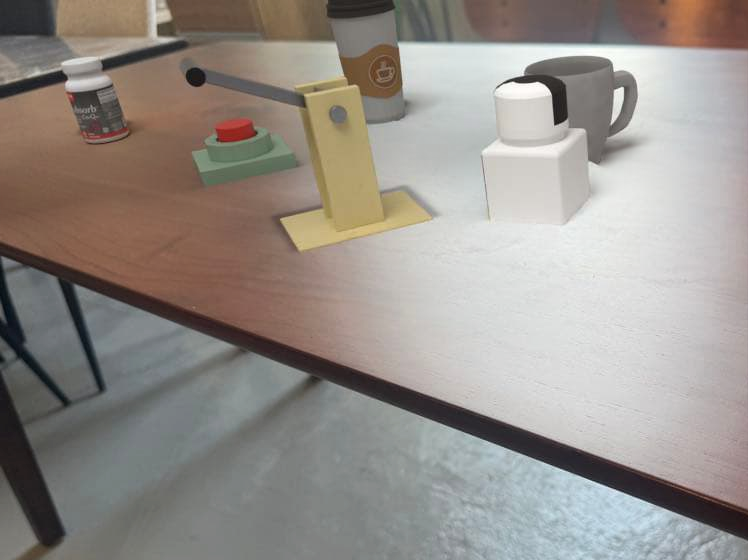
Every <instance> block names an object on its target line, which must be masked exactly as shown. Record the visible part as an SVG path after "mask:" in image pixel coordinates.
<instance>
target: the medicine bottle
mask: <svg viewBox="0 0 748 560" xmlns="http://www.w3.org/2000/svg"><path fill="white" fill-rule="evenodd" d="M492 93H493V102H494V108H495V109H494V110H495V111H494V112H495V119H496V126H497V127H496V128H497V134H498V135H499V136H500V137H498V138H497V139H496V140H494V141H493V142H491V143H490V144H489V145H488V146H486V147H485V148H484V149H482V151H481V152H480V157H481V158H480V159H481V165H482V173H483V180H484V181H483V182H484V190H485V198H486V204H487V213H488V219H489V221H490V222H499V223H514V224H528V225H529V224H532V225H545V226H546V225H547V226H548V225H549V226H560V227H561V226H565V225H567V224H568V222H569V221H570V220H571V219H572V218H573V217H574V216H575V215H576V214H577V213H578V211H579V210H580V209H581V208H582V207H583V206H584V205H585V203H586V202H587V201H588V200H589V199H590V198H591V190H590V189H591V188H590V172H589V160H588V152H587V135H586V130H585V129H582V128H568V127H569V122H568V108H567V93H566V85H565V84H564V82H563V81H562V80H560V79H558V78H555V77H553V76H549V75H526V76H524V75H520V76H516V77H512V78H509V79H506V80H504V81H503V82H502V83H500V84H497V86H496V87H495V88H494V90H493V92H492Z"/></svg>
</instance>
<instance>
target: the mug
mask: <svg viewBox="0 0 748 560" xmlns="http://www.w3.org/2000/svg"><path fill="white" fill-rule="evenodd" d="M614 70H615V69H614V64H613V61H611V60H610V58H608V57H604V56H598V55H597V56H596V55H569V56H559V57H552V58H547V59H542V60H539V61H536V62H533V63H531V64H529V65H528V66H526V67H525V69H524V71H523V76H526V75H549V76H553V77H555V78H558V79H560V80H562V81H563V82H564V84H565V85H566V93H567V108H568V122H569V127H568V128H582V129H585V130H586V135H587V152H588V162H591V163H592V164H594V165H597V164H598V163H599V162H601V159H602V154H603V151H604V148H605V145H606V143H607V140H608V139H609V138H611V137H613V136H615V135H617V134H618V133H620V132H622V131H623V130H625V129H626V128H627V127H628V126H629V124H630V123H631V121H632V119H633V117H634V113H635V110H636V106H637V103H638V98H639V97H638V96H639V94H638V84H637V80H636V78H635V76H634V74H632V73H630V72H629V71H627V70H623V69H619V70H615V71H614ZM621 88H623V100H622V105H621V108H620V111H619V114H618V116H617V117H616V119H615V120H614V121H613V122H612V119H613V111H614V101H615V100H614V99H615V91H616V90H618V89H621ZM599 164H600V163H599ZM599 164H598V165H599Z"/></svg>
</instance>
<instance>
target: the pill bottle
mask: <svg viewBox="0 0 748 560" xmlns="http://www.w3.org/2000/svg"><path fill="white" fill-rule="evenodd" d="M60 67H61V70H62V72H63V74H64V75H65V76H66V77H67V80H66V82H65V84H64V89H65V92H66V95H67V97H68V100H69V103H70V105H71V108H72V111H73V114H74V116H75V119H76V122H77V124H78V127H79V129H80V132H81V135H82V138H83V140H84V141H85V142H86V143H88V144H106V143H111V142H116V141H118V140H121V139H123V138H126V137H127V136H128V135H129V133H130V130H129V127H128V123H127V120H126V118H125V115H124V112H123V109H122V107H121V104H120V100H119V97H118V95H117V92H116V91H117V90H116V89H115V86H114V83H113V80H112V79H111V77H110V76H109V75H107V74H105V73H104V72H103V63H102V61H101V58H100V57H99V56H84V57H77V58H72V59H68V60H67V59H66V60H65V61H62V62H61V63H60Z"/></svg>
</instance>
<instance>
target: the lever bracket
mask: <svg viewBox="0 0 748 560" xmlns="http://www.w3.org/2000/svg"><path fill="white" fill-rule="evenodd" d="M314 87H317V88H320V89H324V91H319V92H314V93H313V91H314ZM293 89H294V91H295V92H299V93H303V94H304V99H305V103H306V107H307V109H305V108H301V107H298V109H299V113H300V118H301V122H302V126H303V130H304V134H305V138H306V143H307V147H308V151H309V156H310V160H311V165H312V168H313V172H314V177H315V181H316V185H317V190H318V194H319V198H320V202H321V206H322V208H319V209H315V210H311V211H306V212H303V213H302V212H301V213H297V214H293V215H290V216H285V217H281V218H279V222H280V223H281V225H282V226H283V228H284V230H285V231H286V233H287V234H288V236H289V238H290V239H291V241H292V243H293V244H294V246H295V247H296V249H297V251H298V252H299V253H300V254H301V253H304V252H308V251H309V252H310V251H313V250H317V249H320V248H325V247H328V246H329V247H330V246H333V245H336V244H341V243H344V242H345V243H346V242H350V241H353V240H358V239H361V238H364V237H365V238H366V237H369V236H373V235H377V234H381V233H386V232H390V231H393V230H397V229H401V228H405V227H409V226H414V225H417V224H422V223H425V222H429V221H433V217H432V216H431V215H430V214H429V213H428V212H427V211H426V210H424V208H422V207H421V205H419V204H418V202H416V201H415V200H414V199H413V198H411V196H409V194H408V193H406V192H405V191H404V189H402V190H396V191H392V192H388V193H387V192H386V193H383V194H381V193H380V192H381V191H380V188H379V182H378V177H377V173H376V167H375V163H374V157H373V151H372V146H371V140H370V136H369V131H368V125H367V124H366V121H365V116H364V111H363V106H362V101H361V95H360V90H359V87H358V86H357V85H350V86H348V82H347V78H346V77H344V75H343V76H337V77H332V78H327V79H322V80H315V81H311V82H306V83H301V84H294V85H293Z"/></svg>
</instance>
